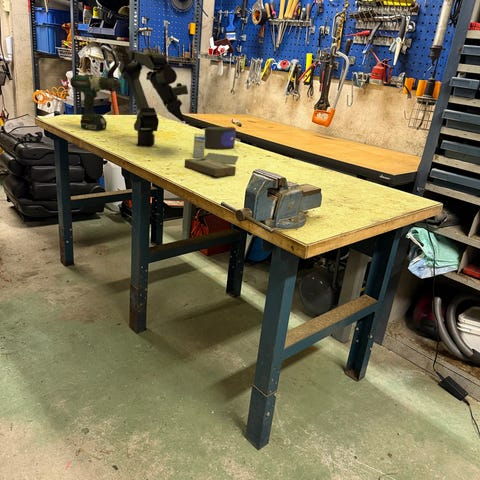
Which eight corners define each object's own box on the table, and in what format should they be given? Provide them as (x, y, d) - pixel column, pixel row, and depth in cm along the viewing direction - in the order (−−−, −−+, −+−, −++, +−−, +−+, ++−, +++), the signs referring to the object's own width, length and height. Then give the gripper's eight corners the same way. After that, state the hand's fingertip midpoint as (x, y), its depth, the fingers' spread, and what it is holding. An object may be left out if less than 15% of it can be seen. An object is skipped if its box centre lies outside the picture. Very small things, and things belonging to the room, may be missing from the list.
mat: (202, 160, 172) (202, 159, 172) (208, 153, 184) (208, 152, 184) (234, 164, 171) (234, 163, 171) (238, 157, 184) (238, 156, 184)
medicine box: (193, 153, 182) (194, 132, 178) (203, 154, 182) (205, 133, 179) (192, 157, 174) (194, 136, 171) (203, 158, 175) (205, 137, 171)
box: (214, 177, 149) (215, 169, 148) (183, 167, 160) (184, 158, 159) (236, 175, 157) (237, 166, 156) (205, 164, 168) (205, 156, 166)
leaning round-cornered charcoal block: (207, 150, 190) (209, 128, 186) (202, 148, 194) (204, 126, 190) (238, 149, 199) (240, 128, 195) (232, 146, 202) (234, 126, 199)
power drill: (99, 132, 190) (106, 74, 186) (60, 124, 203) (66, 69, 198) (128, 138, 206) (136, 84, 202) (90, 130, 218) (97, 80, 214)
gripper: (182, 77, 161) (203, 114, 169) (176, 74, 178) (196, 107, 185) (157, 93, 162) (179, 129, 169) (153, 88, 178) (174, 121, 185)
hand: (183, 121), depth 177 cm, fingers closed
